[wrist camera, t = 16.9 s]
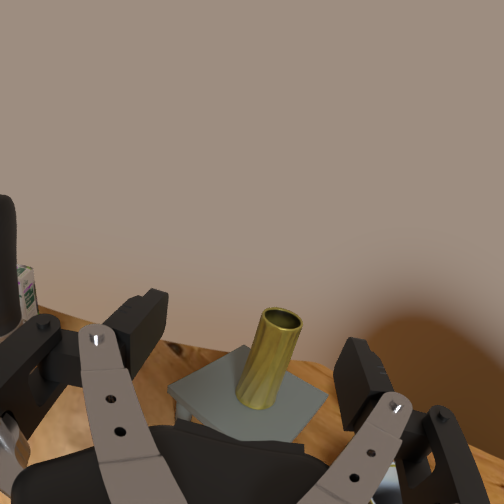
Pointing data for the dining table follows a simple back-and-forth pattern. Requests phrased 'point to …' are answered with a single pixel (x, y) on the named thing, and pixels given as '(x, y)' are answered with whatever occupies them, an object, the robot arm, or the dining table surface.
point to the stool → (234, 412)
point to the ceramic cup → (388, 489)
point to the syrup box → (27, 292)
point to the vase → (268, 358)
